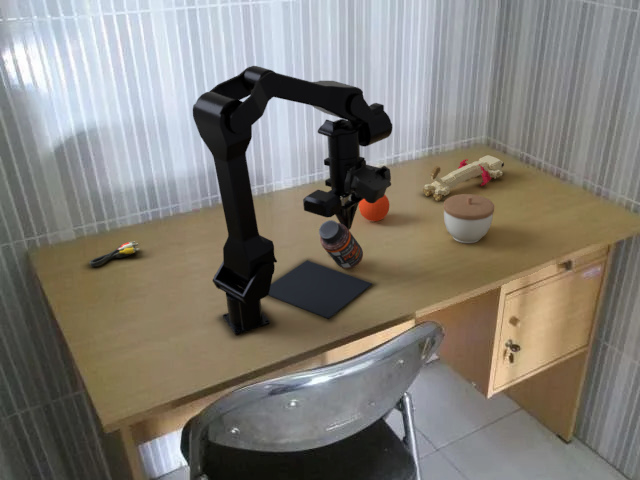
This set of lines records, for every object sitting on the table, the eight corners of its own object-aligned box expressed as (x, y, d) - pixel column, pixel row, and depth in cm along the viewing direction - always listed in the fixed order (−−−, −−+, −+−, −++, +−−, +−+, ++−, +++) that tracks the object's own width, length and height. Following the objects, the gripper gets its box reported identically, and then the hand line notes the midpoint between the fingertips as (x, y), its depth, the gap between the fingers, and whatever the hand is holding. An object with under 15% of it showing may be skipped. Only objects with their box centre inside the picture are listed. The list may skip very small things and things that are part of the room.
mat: (307, 261, 138) (307, 260, 138) (372, 284, 131) (372, 283, 131) (260, 292, 128) (260, 291, 128) (328, 319, 121) (328, 317, 121)
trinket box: (433, 241, 146) (435, 201, 141) (454, 221, 154) (456, 183, 149) (480, 253, 142) (483, 212, 137) (498, 232, 150) (502, 193, 145)
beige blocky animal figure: (445, 209, 162) (514, 175, 175) (445, 176, 157) (516, 143, 170) (417, 196, 168) (485, 163, 181) (416, 163, 163) (486, 132, 176)
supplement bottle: (355, 274, 134) (333, 247, 124) (331, 265, 137) (308, 238, 127) (369, 248, 136) (348, 220, 126) (345, 240, 138) (323, 212, 128)
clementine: (350, 216, 155) (349, 187, 151) (375, 208, 159) (374, 180, 155) (370, 229, 150) (370, 200, 146) (395, 221, 154) (396, 192, 150)
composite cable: (92, 269, 134) (89, 258, 132) (86, 258, 137) (83, 247, 136) (142, 256, 138) (140, 245, 137) (136, 246, 142) (133, 235, 140)
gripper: (350, 181, 113) (353, 261, 122) (408, 146, 126) (407, 221, 135) (298, 167, 118) (304, 245, 127) (359, 134, 131) (361, 207, 140)
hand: (347, 229), depth 132 cm, fingers closed
